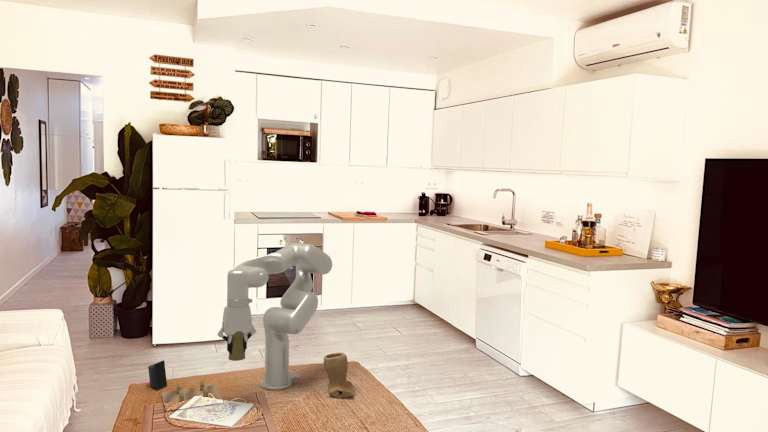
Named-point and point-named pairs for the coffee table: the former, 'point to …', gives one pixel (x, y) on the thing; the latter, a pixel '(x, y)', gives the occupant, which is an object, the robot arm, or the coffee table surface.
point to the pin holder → (190, 393)
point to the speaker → (157, 375)
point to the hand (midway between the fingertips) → (236, 351)
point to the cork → (237, 347)
